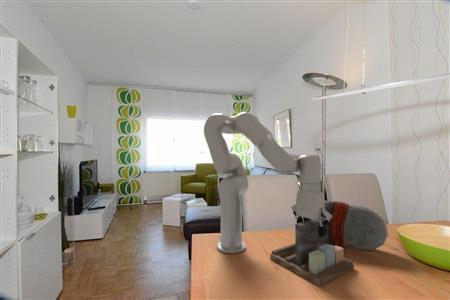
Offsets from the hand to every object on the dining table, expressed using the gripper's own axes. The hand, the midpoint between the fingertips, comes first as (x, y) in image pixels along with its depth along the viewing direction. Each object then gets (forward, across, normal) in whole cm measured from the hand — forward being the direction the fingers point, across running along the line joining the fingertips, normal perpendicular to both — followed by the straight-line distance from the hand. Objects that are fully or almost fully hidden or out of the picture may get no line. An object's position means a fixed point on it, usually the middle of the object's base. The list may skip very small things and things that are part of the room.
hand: (310, 232), depth 86 cm
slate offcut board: (+12, +7, 0) cm, 14 cm away
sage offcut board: (+12, +7, -6) cm, 15 cm away
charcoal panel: (+12, 0, 0) cm, 12 cm away
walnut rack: (+12, 0, 0) cm, 12 cm away
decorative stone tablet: (+12, -2, +27) cm, 30 cm away
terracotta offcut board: (+12, +7, +6) cm, 15 cm away
